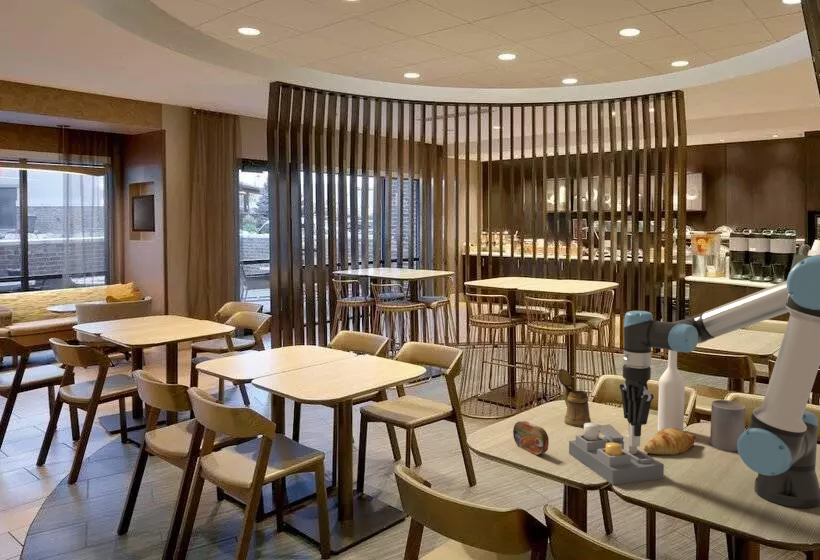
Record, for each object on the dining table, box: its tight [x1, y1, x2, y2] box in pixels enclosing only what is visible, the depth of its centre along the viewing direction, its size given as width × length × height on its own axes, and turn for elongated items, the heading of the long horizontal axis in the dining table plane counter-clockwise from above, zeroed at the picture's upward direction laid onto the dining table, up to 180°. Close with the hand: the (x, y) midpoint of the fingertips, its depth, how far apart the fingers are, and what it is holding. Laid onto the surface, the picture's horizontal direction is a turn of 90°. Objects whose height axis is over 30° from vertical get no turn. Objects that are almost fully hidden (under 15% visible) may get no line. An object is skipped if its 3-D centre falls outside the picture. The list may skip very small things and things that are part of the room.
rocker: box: [599, 424, 624, 443], centre depth 193 cm, size 8×4×2 cm, turn 15°
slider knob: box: [623, 433, 638, 454], centre depth 184 cm, size 3×3×5 cm
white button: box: [583, 422, 600, 441], centre depth 189 cm, size 4×4×4 cm
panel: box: [568, 434, 665, 486], centre depth 185 cm, size 24×16×7 cm, turn 15°
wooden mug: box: [557, 368, 592, 428], centre depth 225 cm, size 9×14×18 cm, turn 30°
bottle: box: [657, 350, 686, 432], centre depth 213 cm, size 8×8×30 cm
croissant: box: [643, 428, 697, 456], centre depth 197 cm, size 21×10×8 cm
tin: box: [512, 420, 550, 456], centre depth 198 cm, size 15×3×8 cm, turn 27°
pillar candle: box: [709, 399, 746, 452], centre depth 199 cm, size 10×10×15 cm
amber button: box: [605, 442, 622, 456], centre depth 178 cm, size 4×4×4 cm
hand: (634, 445), depth 182 cm, fingers closed
